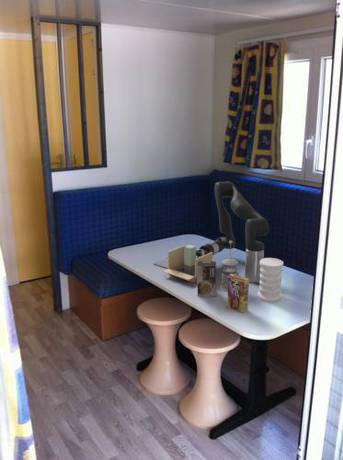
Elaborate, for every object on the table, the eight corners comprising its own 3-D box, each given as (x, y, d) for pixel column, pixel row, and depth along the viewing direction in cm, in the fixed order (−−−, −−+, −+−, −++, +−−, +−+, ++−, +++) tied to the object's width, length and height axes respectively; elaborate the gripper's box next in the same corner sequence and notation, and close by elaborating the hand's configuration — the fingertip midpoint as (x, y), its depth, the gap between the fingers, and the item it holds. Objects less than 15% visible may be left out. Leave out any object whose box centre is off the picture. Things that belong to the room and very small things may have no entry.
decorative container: (267, 289, 222) (268, 255, 217) (286, 297, 214) (289, 262, 209) (252, 296, 215) (253, 261, 210) (272, 304, 206) (274, 268, 201)
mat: (182, 263, 258) (182, 262, 258) (168, 269, 250) (168, 268, 250) (167, 258, 266) (167, 257, 266) (153, 264, 257) (153, 263, 257)
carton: (217, 272, 245) (218, 249, 241) (189, 286, 227) (189, 262, 224) (190, 264, 257) (190, 242, 253) (162, 276, 240) (161, 253, 236)
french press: (233, 282, 231) (234, 236, 224) (244, 291, 221) (246, 243, 213) (216, 285, 228) (217, 239, 220) (227, 294, 217) (228, 246, 210)
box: (195, 274, 242) (196, 246, 238) (190, 276, 239) (190, 248, 235) (189, 272, 245) (189, 244, 241) (184, 274, 242) (184, 246, 237)
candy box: (248, 309, 202) (249, 278, 197) (242, 312, 199) (244, 281, 194) (232, 303, 208) (233, 273, 203) (226, 306, 205) (227, 276, 200)
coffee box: (215, 291, 221) (216, 261, 216) (215, 297, 215) (216, 265, 210) (197, 290, 222) (197, 260, 217) (197, 296, 216) (197, 265, 211)
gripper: (199, 241, 255) (181, 248, 244) (219, 246, 246) (201, 253, 234) (199, 253, 257) (181, 260, 246) (219, 259, 248) (201, 267, 237)
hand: (191, 257), depth 240 cm, fingers open, 8 cm apart
